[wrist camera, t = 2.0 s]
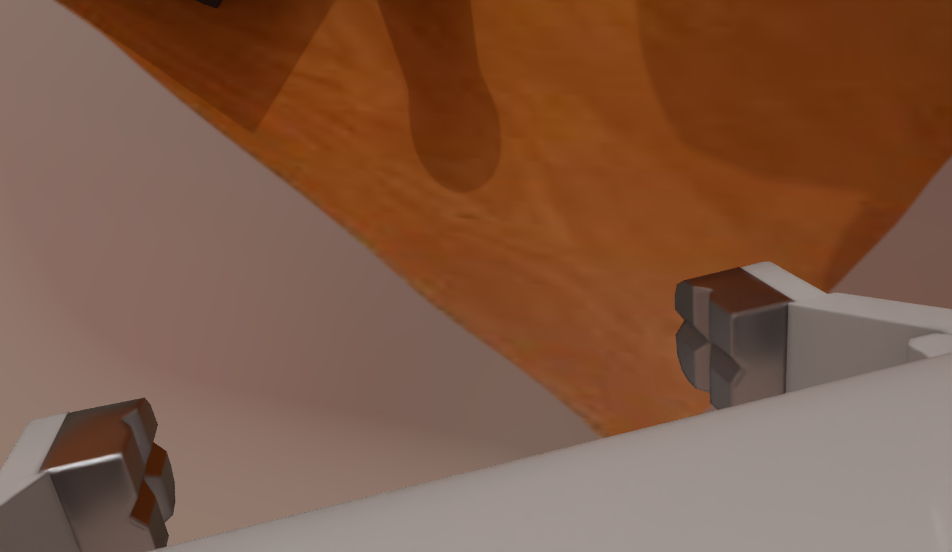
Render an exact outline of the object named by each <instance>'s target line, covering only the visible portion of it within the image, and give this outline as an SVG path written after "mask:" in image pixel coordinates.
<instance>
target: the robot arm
mask: <svg viewBox="0 0 952 552" xmlns="http://www.w3.org/2000/svg"><path fill="white" fill-rule="evenodd" d="M675 310H676V311H677V312H678V313H679V315H680V316H681V317H682V318H683V319H684V322H683V324H682V325H681V327H680V329H679V330H678V332H677V334H676V344H677V355H678V358H679V362H680V365H681V368H682V371H683V373H684V374H685V376H686V378H687V379H688V381H689V382H690V383H691V384H692V385H693V386H694V387H695V388H696V389H699V390H703V391H706V392H709V393H710V403H711V404H712V405H713V406H714V407H715V408H716V409H717V410H716V411H712V412H708V413H704V414H700V415H696V416H692V417H688V418H684V419H680V420H676V421H672V422H668V423H664V424H660V425H656V426H652V427H647V428H643V429H639V430H635V431H631V432H627V433H623V434H619V435H615V436H611V437H607V438H603V439H599V440H595V441H591V442H587V443H583V444H579V445H576V446H571V447H567V448H563V449H559V450H555V451H551V452H546V453H542V454H539V455H535V456H530V457H527V458H523V459H519V460H515V461H510V462H506V463H502V464H498V465H494V466H490V467H486V468H482V469H478V470H474V471H470V472H466V473H462V474H458V475H454V476H450V477H446V478H441V479H437V480H433V481H429V482H425V483H421V484H417V485H413V486H409V487H405V488H401V489H397V490H393V491H389V492H385V493H381V494H377V495H373V496H369V497H365V498H361V499H357V500H353V501H349V502H345V503H341V504H337V505H332V506H328V507H324V508H320V509H316V510H312V511H308V512H304V513H300V514H296V515H292V516H288V517H284V518H280V519H276V520H272V521H268V522H264V523H260V524H256V525H252V526H248V527H244V528H240V529H235V530H232V531H227V532H223V533H219V534H216V535H212V536H207V537H203V538H199V539H195V540H191V541H187V542H183V543H179V544H175V545H171V546H167V541H168V536H169V535H168V532H167V529H166V526H165V522H166V521H167V520H168V519H169V518H170V517H171V516H172V515H173V512H174V506H175V485H174V478H173V473H172V468H171V464H170V461H169V458H168V454H167V451H165V450H164V449H162V448H161V447H160V446H158V445H157V444H155V443H154V442H153V441H154V437H155V433H156V430H157V426H158V424H157V421H156V418H155V416H154V413H153V410H152V408H151V405H150V404H149V402H148V401H147V400H146V399H145V398H140V399H135V400H131V401H125V402H121V403H116V404H110V405H105V406H100V407H95V408H90V409H85V410H81V411H75V412H72V413H70V412H65V413H61V414H58V415H54V416H49V417H45V418H41V419H37V420H33V421H30V422H28V424H27V425H26V427H25V429H24V431H23V432H22V434H21V436H20V438H19V439H18V441H17V443H16V445H15V446H14V448H13V449H12V451H11V453H10V455H9V456H8V458H7V460H6V461H5V464H4V465H3V467H2V468H1V470H0V552H952V309H947V308H940V307H934V306H926V305H920V304H913V303H906V302H900V301H892V300H885V299H879V298H872V297H865V296H858V295H851V294H844V293H838V292H836V293H831V294H826V293H825V292H823V291H821V290H819V289H818V288H816V287H814V286H812V285H811V284H809V283H807V282H805V281H804V280H802V279H800V278H798V277H796V276H795V275H793V274H791V273H789V272H788V271H786V270H784V269H782V268H781V267H779V266H777V265H775V264H773V263H772V262H760V263H756V264H753V265H749V266H745V267H742V268H740V267H737V268H733V269H729V270H725V271H721V272H717V273H713V274H709V275H704V276H700V277H696V278H692V279H688V280H684V281H682V282H680V283H679V284H677V287H676V292H675ZM166 546H167V547H166Z"/></svg>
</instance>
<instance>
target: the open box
mask: <svg viewBox="0 0 952 552" xmlns="http://www.w3.org/2000/svg"><path fill="white" fill-rule="evenodd" d="M195 1H198V2H201V3H203V4H206V5H209V6H211V7H214V8H218V6H219V4H220V3H221V1H222V0H195Z"/></svg>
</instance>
